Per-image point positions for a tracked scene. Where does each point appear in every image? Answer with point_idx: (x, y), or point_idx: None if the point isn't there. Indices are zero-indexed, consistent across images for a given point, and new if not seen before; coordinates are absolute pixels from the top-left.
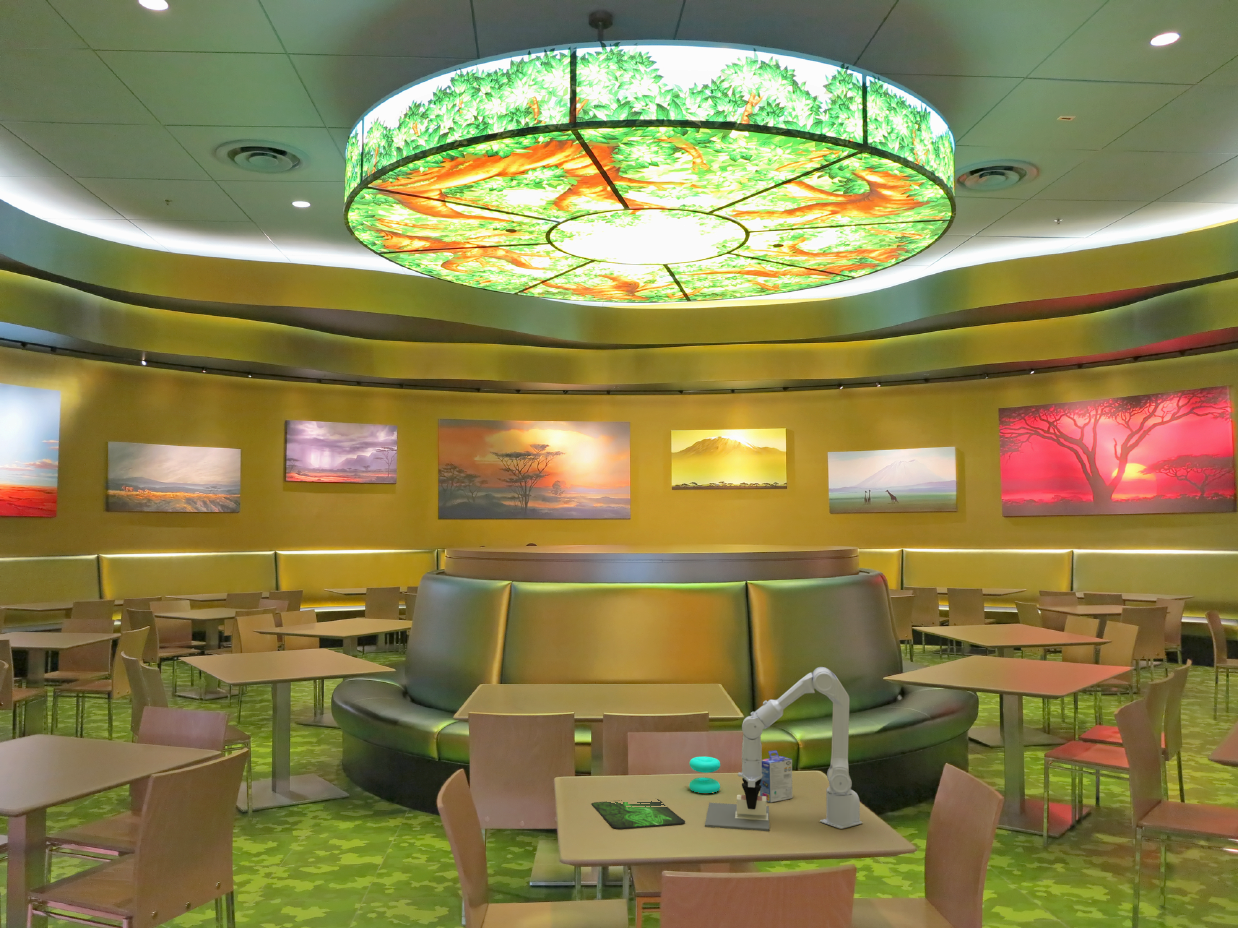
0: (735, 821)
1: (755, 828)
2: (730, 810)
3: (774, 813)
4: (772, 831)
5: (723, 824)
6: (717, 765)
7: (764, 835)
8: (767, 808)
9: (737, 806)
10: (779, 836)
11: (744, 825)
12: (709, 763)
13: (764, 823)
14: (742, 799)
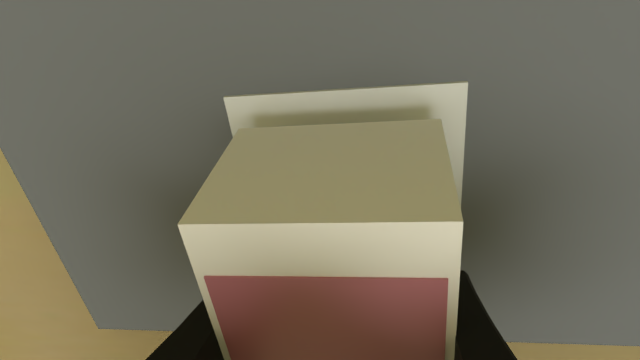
0: (125, 108)
1: (64, 254)
2: (511, 12)
3: (522, 357)
4: (108, 329)
5: None
6: None
7: (5, 291)
8: (617, 336)
9: (217, 175)
10: (46, 353)
11: (65, 186)
12: None
13: (194, 307)
14: (209, 288)
